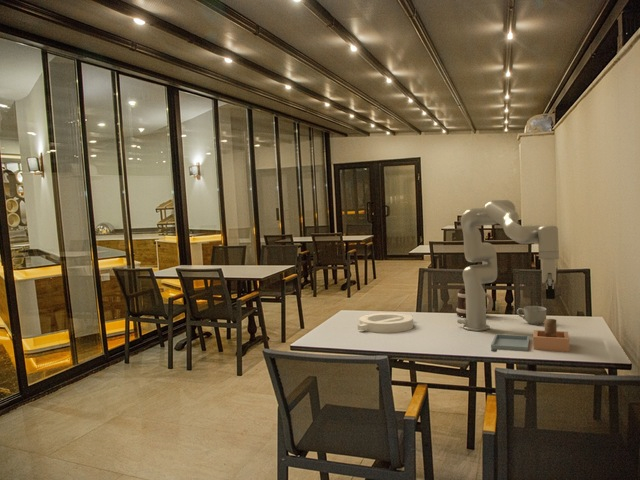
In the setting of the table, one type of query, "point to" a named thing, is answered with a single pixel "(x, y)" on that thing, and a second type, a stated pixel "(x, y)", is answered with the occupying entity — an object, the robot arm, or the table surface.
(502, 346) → the tray
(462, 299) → the mug
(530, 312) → the teacup
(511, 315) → the table surface
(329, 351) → the table surface
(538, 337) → the open box
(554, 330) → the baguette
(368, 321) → the ring with crossbar
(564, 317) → the table surface
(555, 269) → the robot arm
